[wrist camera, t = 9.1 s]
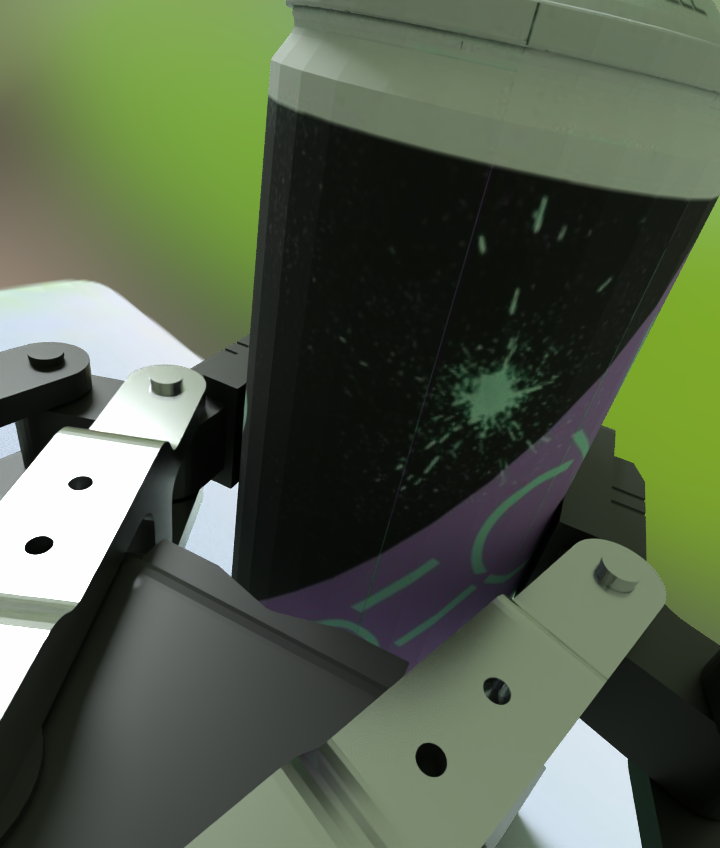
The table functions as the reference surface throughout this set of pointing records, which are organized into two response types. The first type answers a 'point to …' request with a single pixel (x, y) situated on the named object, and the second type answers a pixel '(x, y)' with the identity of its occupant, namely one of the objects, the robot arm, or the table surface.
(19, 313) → the table surface
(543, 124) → the spray can
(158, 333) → the table surface
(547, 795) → the table surface
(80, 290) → the table surface
